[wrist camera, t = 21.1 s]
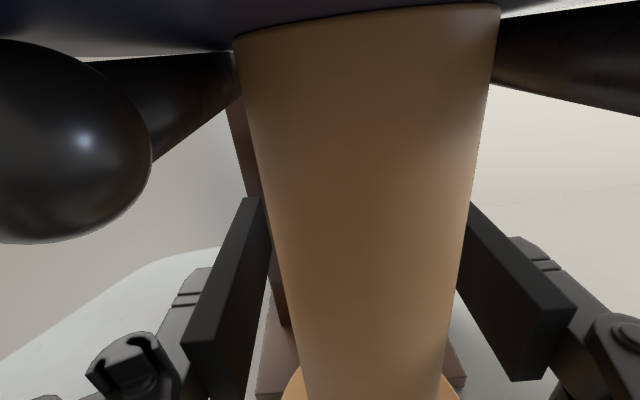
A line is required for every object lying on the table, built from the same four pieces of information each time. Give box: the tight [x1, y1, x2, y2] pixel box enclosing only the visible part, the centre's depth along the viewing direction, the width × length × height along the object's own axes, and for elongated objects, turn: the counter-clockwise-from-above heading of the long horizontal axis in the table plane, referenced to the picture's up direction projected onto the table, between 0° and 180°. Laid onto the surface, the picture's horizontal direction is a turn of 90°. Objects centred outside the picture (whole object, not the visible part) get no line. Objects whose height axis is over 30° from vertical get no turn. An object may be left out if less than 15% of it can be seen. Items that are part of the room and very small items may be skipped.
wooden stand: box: [0, 0, 640, 400], centre depth 13 cm, size 17×11×17 cm, turn 2°
